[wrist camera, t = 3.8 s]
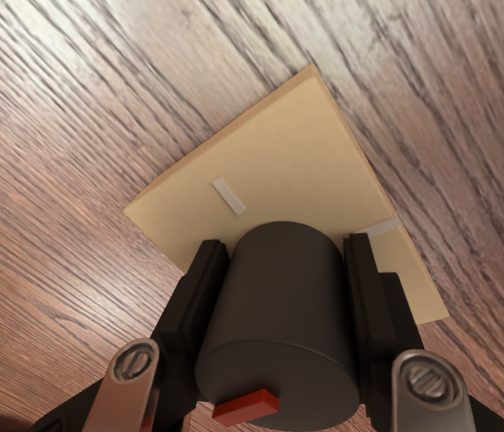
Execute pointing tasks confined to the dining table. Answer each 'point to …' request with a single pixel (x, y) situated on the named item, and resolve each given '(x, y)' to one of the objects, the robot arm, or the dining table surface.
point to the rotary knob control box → (283, 188)
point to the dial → (281, 334)
